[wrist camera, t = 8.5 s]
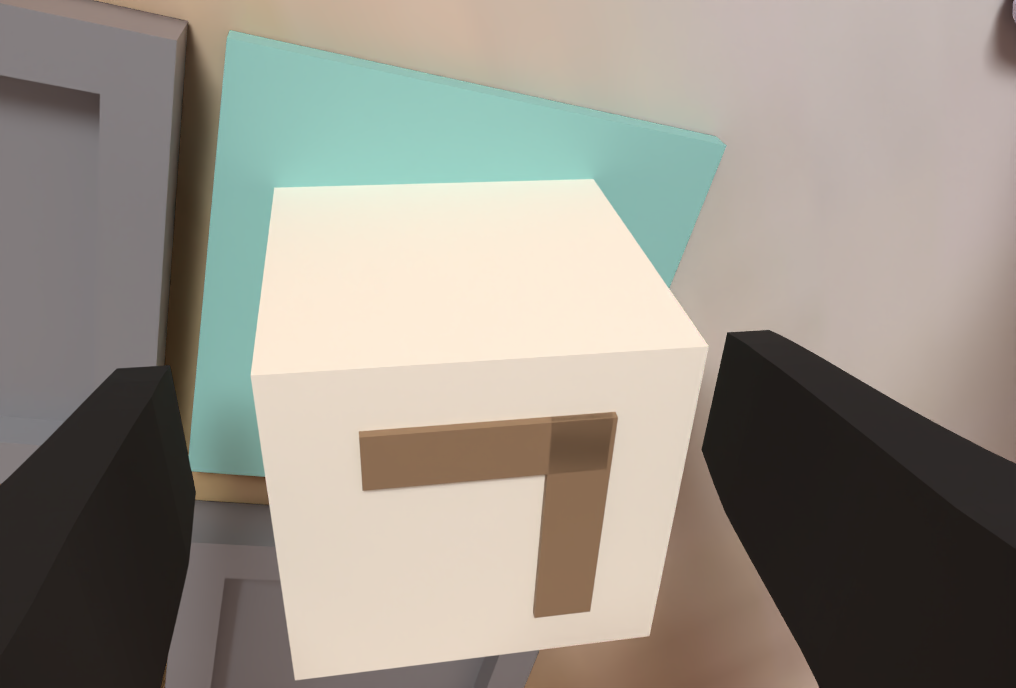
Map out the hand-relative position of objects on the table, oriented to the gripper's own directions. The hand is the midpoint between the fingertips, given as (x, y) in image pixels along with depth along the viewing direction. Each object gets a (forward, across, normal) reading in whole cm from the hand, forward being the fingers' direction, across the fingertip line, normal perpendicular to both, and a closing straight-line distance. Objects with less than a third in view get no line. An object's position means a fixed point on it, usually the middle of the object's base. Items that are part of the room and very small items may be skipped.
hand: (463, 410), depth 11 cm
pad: (+3, 0, 0) cm, 3 cm away
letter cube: (+2, 0, 0) cm, 2 cm away
